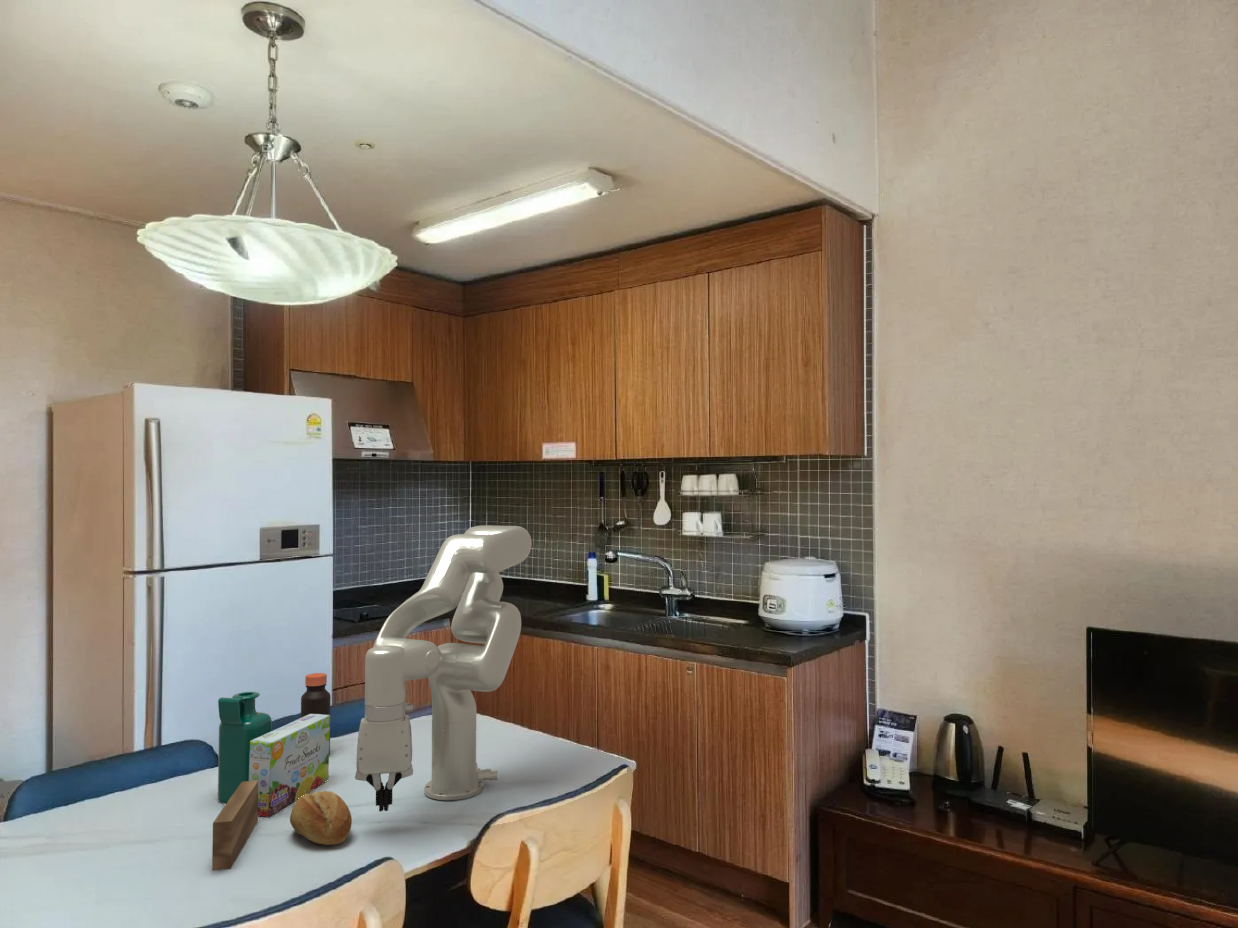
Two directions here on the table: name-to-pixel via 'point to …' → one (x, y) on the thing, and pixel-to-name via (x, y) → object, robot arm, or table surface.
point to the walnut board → (234, 825)
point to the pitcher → (237, 740)
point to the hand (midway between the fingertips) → (383, 808)
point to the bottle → (316, 696)
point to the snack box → (290, 762)
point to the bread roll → (321, 818)
